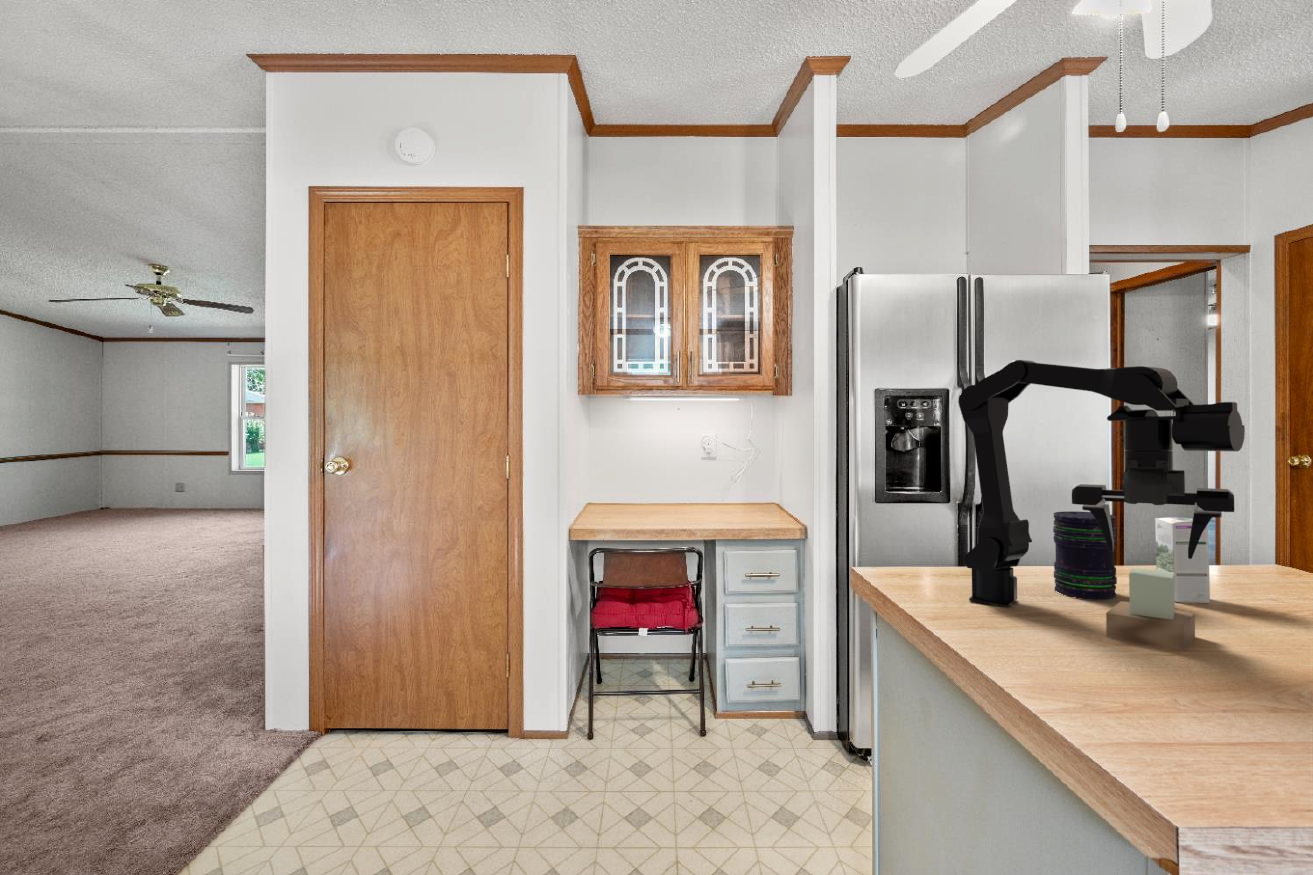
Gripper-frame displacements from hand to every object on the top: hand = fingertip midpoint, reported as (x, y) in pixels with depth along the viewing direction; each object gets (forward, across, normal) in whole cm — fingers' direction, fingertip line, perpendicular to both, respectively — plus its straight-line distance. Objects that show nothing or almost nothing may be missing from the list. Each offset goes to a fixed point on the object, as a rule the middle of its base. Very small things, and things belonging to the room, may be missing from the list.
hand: (1149, 554), depth 93 cm
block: (+13, 0, 0) cm, 13 cm away
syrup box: (+12, +3, +29) cm, 32 cm away
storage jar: (+12, -11, +23) cm, 28 cm away
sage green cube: (+9, 0, 0) cm, 9 cm away
